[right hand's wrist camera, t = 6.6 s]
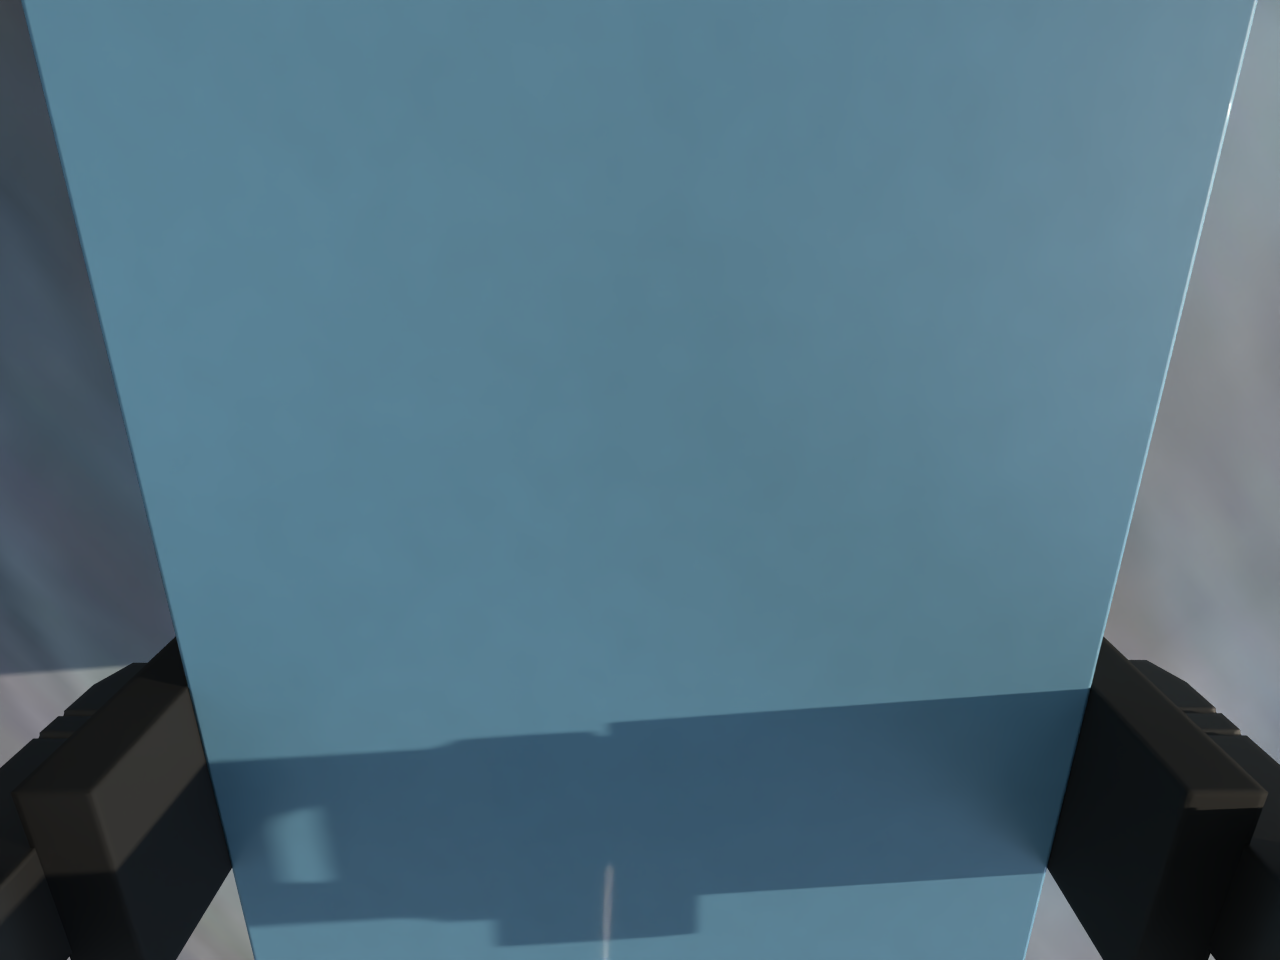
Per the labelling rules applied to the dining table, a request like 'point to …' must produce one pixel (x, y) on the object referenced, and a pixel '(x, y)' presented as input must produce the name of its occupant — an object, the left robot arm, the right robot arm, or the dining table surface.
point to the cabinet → (639, 442)
